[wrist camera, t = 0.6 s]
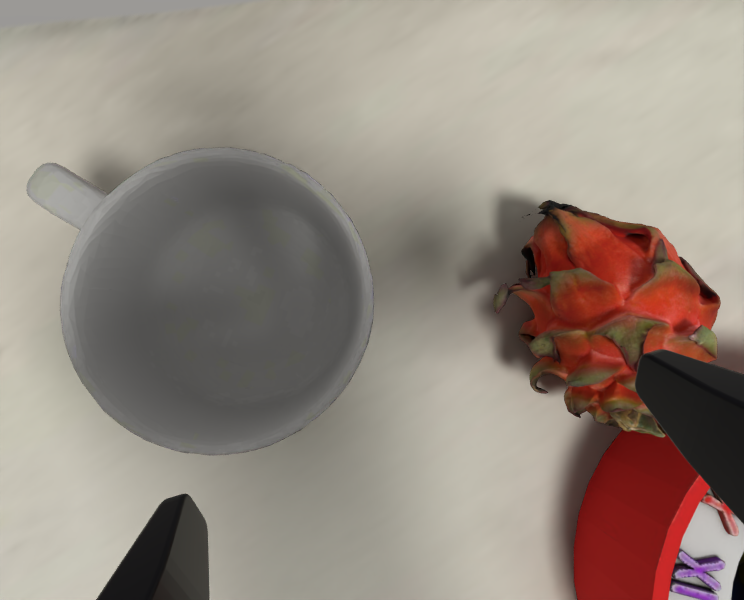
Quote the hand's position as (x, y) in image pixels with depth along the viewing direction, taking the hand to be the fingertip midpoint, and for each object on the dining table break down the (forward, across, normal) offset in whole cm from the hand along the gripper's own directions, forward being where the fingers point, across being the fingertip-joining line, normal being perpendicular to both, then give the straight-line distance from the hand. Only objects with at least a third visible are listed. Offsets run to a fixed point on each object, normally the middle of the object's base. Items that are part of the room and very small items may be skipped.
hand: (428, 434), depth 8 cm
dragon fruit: (+12, -11, +9) cm, 19 cm away
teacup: (+16, +6, +4) cm, 17 cm away
